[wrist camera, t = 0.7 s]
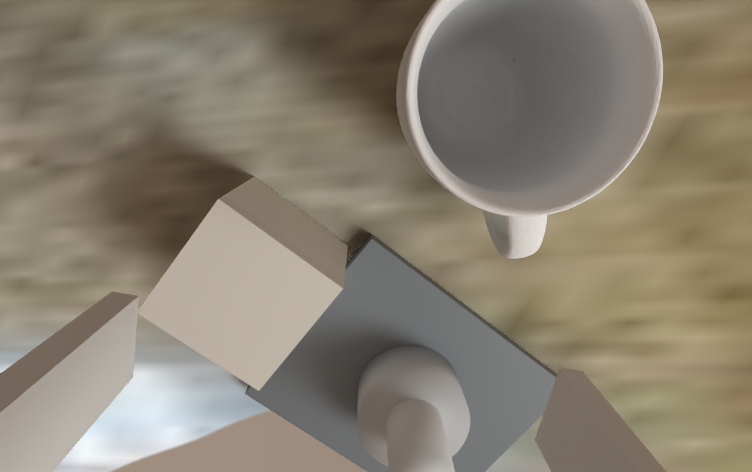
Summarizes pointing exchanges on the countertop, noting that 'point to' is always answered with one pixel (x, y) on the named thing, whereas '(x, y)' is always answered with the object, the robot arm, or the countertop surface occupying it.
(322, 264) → the cream cube block
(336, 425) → the post base
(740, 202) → the countertop surface
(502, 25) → the mug
